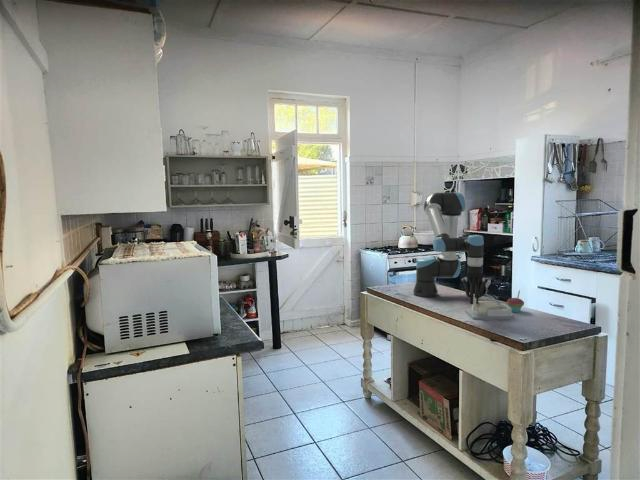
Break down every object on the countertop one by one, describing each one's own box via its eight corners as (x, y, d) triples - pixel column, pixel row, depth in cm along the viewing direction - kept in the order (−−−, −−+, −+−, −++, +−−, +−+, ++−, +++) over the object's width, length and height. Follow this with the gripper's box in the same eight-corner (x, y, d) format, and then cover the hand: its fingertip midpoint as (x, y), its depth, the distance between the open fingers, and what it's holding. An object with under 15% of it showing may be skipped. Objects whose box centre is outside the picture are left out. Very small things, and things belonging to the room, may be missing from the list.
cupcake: (524, 310, 225) (525, 288, 224) (523, 313, 218) (523, 291, 217) (507, 308, 230) (507, 286, 228) (505, 311, 222) (505, 289, 221)
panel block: (476, 312, 218) (476, 300, 217) (494, 312, 217) (494, 301, 217) (479, 314, 213) (479, 303, 212) (497, 314, 212) (497, 303, 212)
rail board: (464, 311, 223) (465, 302, 223) (503, 311, 222) (503, 302, 222) (472, 319, 209) (473, 309, 209) (513, 319, 208) (514, 309, 208)
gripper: (464, 266, 210) (463, 312, 212) (490, 266, 209) (489, 312, 212) (460, 264, 218) (459, 308, 220) (485, 264, 217) (484, 308, 219)
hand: (473, 310), depth 216 cm, fingers closed
